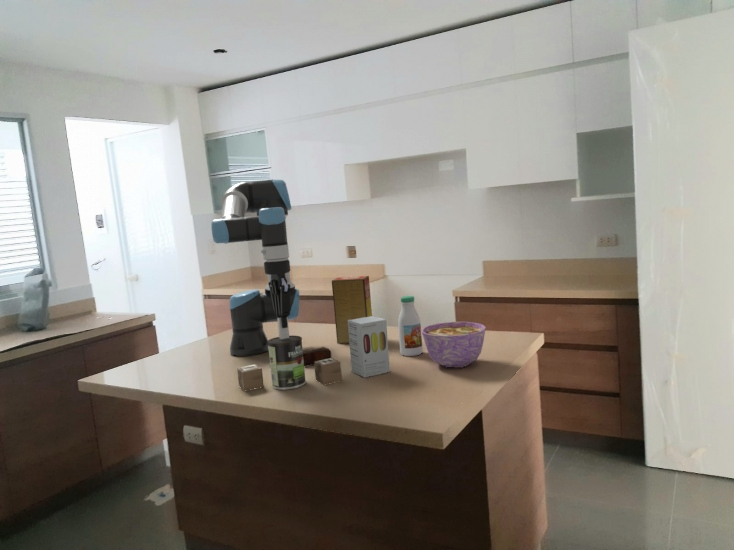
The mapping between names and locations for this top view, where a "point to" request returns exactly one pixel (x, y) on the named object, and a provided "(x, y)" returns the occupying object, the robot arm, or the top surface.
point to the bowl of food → (454, 342)
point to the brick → (315, 355)
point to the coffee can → (286, 362)
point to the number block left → (250, 377)
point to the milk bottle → (409, 328)
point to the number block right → (328, 371)
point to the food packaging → (350, 303)
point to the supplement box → (368, 346)
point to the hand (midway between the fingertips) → (284, 337)
